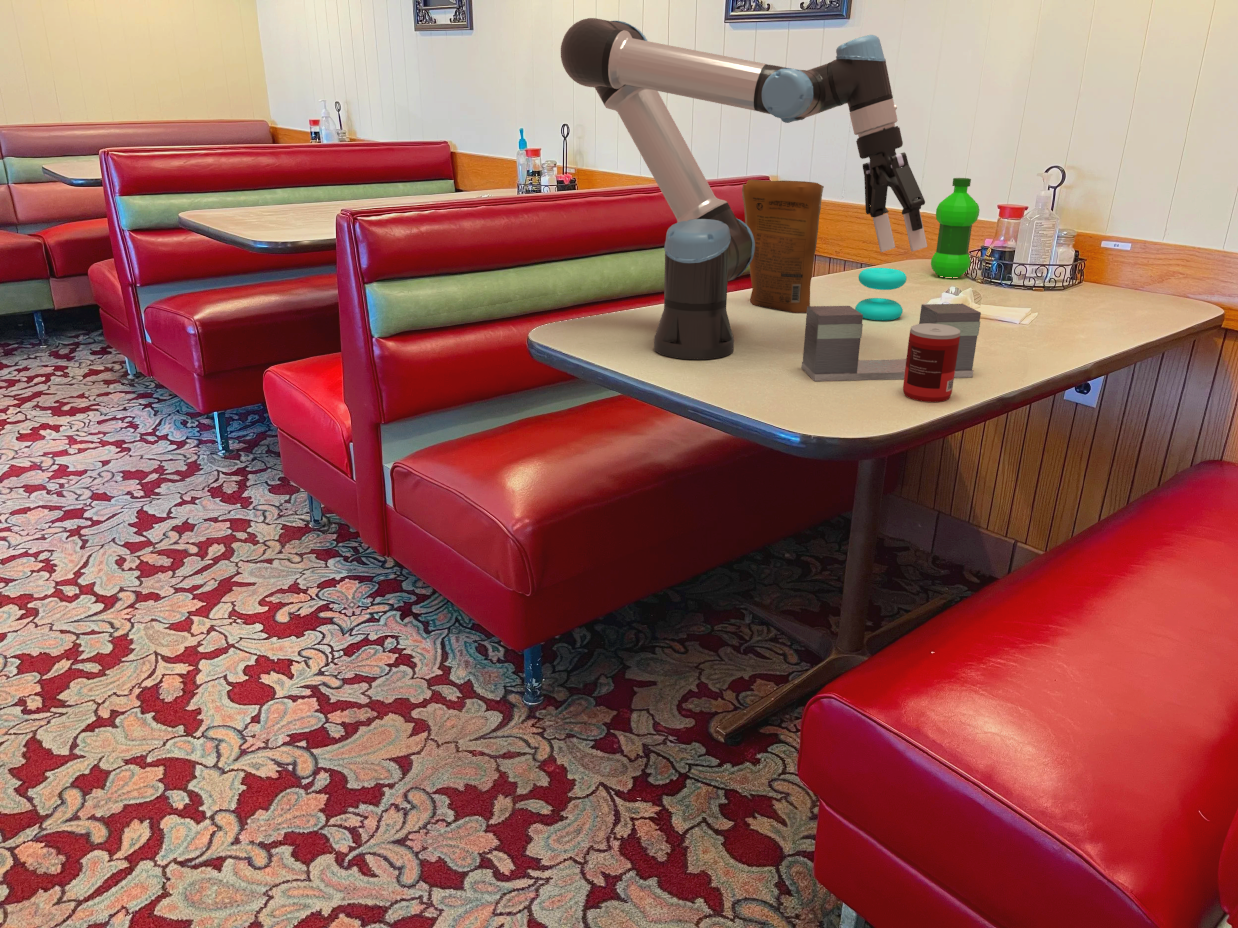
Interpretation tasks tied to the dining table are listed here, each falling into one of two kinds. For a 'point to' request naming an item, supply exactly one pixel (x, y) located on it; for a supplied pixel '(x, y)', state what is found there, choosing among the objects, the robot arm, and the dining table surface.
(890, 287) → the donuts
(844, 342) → the grey double block stand
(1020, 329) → the dining table surface
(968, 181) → the plastic bottle
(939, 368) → the canned food
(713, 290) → the robot arm
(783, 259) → the pancake mix bag
